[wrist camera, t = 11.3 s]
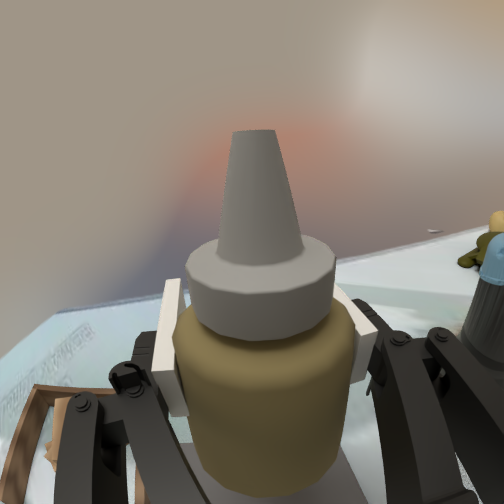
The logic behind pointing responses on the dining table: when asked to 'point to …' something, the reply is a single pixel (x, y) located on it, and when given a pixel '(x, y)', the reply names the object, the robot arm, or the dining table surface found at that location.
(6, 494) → the walnut open frame
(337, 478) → the charcoal mat
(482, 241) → the green turtle
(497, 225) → the tan round lump
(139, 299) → the dining table surface
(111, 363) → the dining table surface
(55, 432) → the offcut top
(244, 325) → the squeeze bottle
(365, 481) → the dining table surface
